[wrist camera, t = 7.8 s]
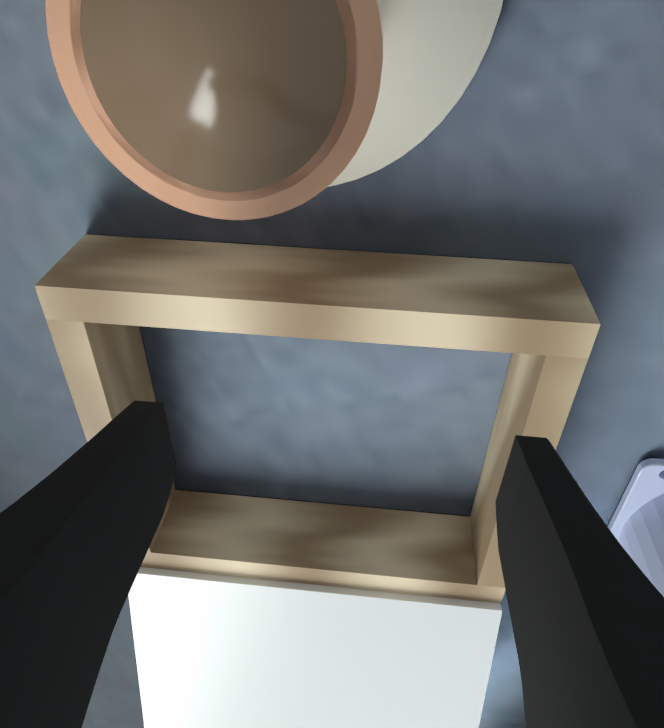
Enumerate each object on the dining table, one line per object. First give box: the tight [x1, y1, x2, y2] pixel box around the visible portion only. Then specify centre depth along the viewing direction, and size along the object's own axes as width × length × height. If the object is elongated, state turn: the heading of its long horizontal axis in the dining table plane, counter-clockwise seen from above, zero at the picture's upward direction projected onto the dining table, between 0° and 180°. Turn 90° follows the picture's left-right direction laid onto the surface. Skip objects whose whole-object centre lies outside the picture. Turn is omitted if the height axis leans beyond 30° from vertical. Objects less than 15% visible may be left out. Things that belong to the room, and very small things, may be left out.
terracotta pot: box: [46, 0, 383, 220], centre depth 12 cm, size 6×6×6 cm
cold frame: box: [35, 234, 601, 728], centre depth 25 cm, size 16×28×8 cm, turn 179°
